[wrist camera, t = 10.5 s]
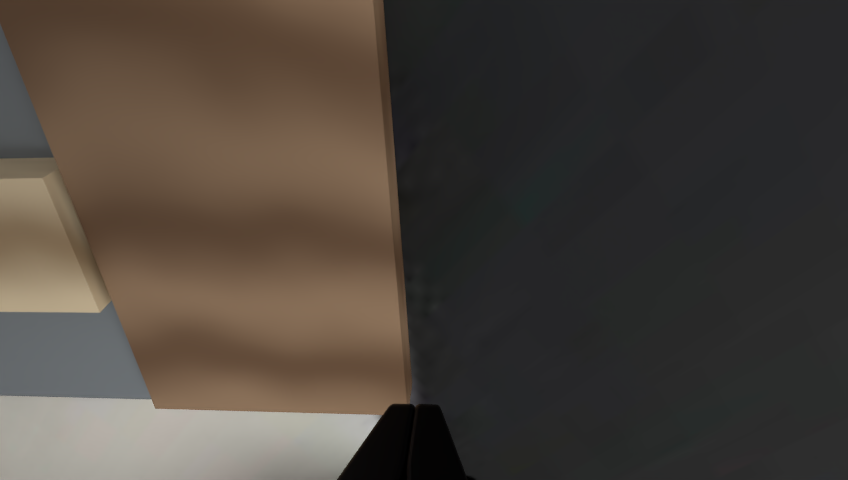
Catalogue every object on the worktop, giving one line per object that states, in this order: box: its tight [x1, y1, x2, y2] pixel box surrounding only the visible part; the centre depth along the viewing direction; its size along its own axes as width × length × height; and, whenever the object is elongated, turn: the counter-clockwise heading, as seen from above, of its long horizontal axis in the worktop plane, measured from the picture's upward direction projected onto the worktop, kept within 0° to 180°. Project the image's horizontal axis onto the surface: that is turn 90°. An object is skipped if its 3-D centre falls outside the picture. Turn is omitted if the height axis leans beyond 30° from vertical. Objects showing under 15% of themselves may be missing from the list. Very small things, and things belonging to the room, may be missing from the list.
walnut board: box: [0, 0, 412, 415], centre depth 22 cm, size 18×12×2 cm, turn 3°
